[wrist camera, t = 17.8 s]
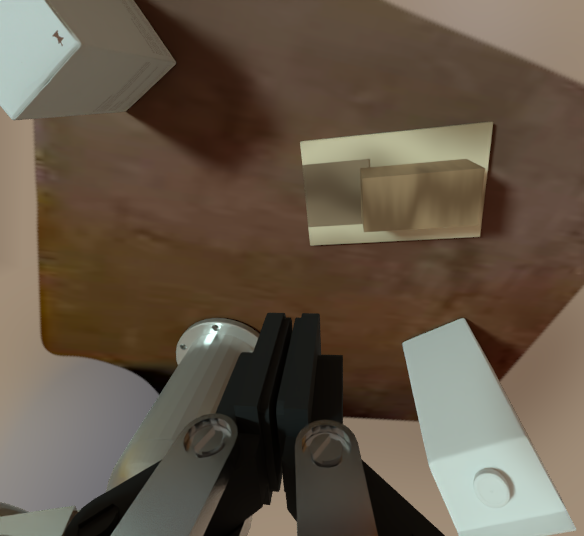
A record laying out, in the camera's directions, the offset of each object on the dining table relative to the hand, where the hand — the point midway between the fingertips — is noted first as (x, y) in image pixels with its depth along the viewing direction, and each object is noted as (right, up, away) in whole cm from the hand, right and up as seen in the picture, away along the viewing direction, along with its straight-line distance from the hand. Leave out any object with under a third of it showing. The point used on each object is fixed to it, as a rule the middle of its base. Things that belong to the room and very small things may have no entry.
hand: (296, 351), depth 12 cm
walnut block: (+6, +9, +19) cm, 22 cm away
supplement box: (-15, +22, +20) cm, 33 cm away
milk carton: (+17, -7, +29) cm, 34 cm away
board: (+9, +10, +22) cm, 25 cm away
